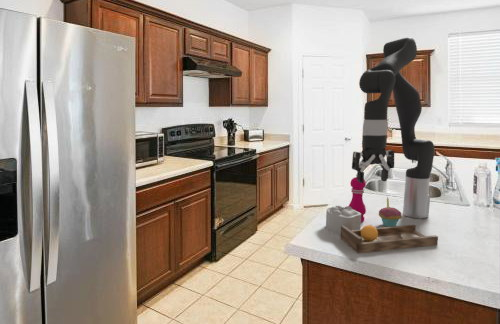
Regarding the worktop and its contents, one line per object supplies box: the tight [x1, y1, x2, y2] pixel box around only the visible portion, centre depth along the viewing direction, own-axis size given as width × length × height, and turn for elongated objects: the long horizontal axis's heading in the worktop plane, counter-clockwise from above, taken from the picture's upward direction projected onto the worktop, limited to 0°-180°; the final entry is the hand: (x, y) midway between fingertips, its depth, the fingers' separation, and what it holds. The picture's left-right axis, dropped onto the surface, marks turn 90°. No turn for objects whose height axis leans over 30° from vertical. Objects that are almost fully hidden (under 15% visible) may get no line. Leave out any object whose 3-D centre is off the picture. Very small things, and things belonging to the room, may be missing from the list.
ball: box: [360, 224, 378, 242], centre depth 114 cm, size 6×6×6 cm
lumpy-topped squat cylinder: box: [325, 205, 362, 236], centre depth 128 cm, size 10×13×9 cm
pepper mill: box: [348, 174, 367, 223], centre depth 137 cm, size 7×7×20 cm
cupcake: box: [378, 196, 403, 227], centre depth 132 cm, size 9×8×12 cm
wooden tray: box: [340, 224, 439, 254], centre depth 116 cm, size 30×12×5 cm, turn 102°
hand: (372, 181), depth 111 cm, fingers open, 8 cm apart
